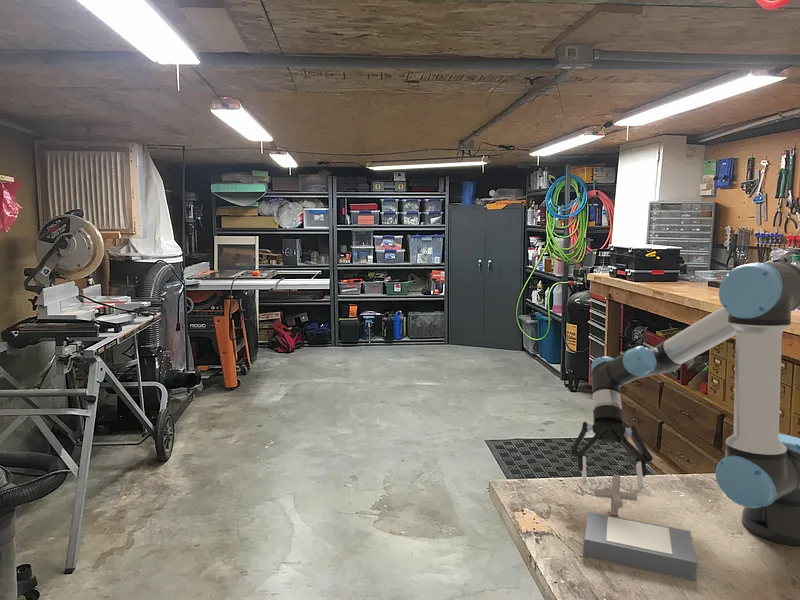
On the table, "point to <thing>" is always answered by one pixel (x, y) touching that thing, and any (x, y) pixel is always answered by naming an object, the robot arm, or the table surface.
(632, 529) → the grey flat block
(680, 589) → the table surface
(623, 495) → the pipe connector
